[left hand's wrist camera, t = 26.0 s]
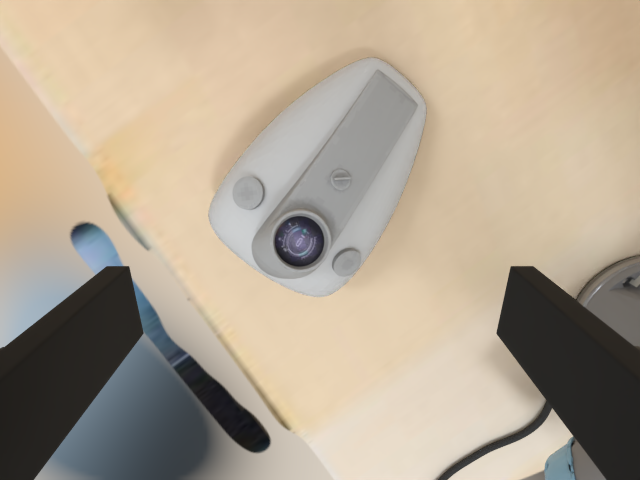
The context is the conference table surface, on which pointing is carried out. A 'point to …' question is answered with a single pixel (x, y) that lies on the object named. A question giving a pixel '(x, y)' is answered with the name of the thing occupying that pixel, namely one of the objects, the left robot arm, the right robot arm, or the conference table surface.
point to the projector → (323, 179)
